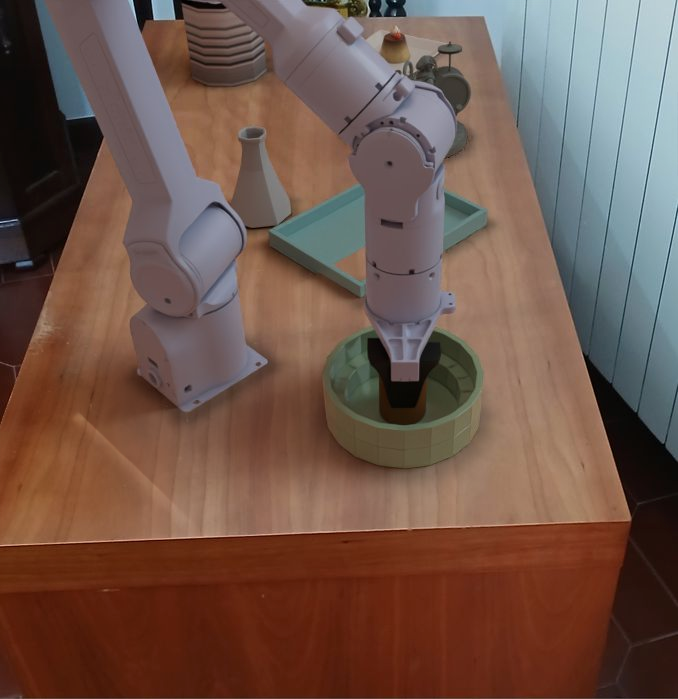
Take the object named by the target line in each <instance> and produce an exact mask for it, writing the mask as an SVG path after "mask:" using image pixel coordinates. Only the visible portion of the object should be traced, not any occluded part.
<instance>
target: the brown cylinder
mask: <svg viewBox="0 0 678 699" xmlns="http://www.w3.org/2000/svg"><path fill="white" fill-rule="evenodd" d="M426 392H427V378H426V380H425V382H424V385H423V388H422V391H421V395H420V398H419V401H418V403H417V405H416V407H415V408H392V407H391V406H390V404H389V401H388V399H387V395H386V392H385V388H384V384H383V381H382V379H381V377H380V375H379V412H380V415H381V417H382V418H383V419H384V420H385V421H386V422H388V423H390V424H396V425H412V424H416V423H418V422H419V421H420V420H422V419H423V417H424V416H425V413H426Z"/></svg>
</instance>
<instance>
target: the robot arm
mask: <svg viewBox="0 0 678 699" xmlns="http://www.w3.org/2000/svg"><path fill="white" fill-rule="evenodd" d="M218 1H220V2H221V3H222V4H223V5H224V6H225V7H227V8H228V9H229V10H230V11H231V12H232V13H234V14H235V15H236V16H237V17H238V18H239V19H241V20H242V21H243V22H244V23H245V24H246V25H247V26H249V27H250V28H251V29H252V30H253V31H254V32H256V33H257V34H258V35H259V36H260V37H261V38H263V39H264V42H266V43H268V45H269V46H270V48H271V54H272V62H273V72H274V75H275V77H277V78H278V80H280V81H281V82H282V83H283V85H285V86H286V87H287V88H288V89H289V90H290V91H291V92H292V93H293V94H294V95H295V96H296V97H298V99H299V100H300V101H301V102H302V103H303V104H304V105H305V106H306V107H307V108H308V109H310V111H312V113H314V115H316V117H318V118H319V119H320V120H321V121H322V122H323V123H324V124H325V125H326V127H328V128H329V129H330V130H331V131H332V133H334V134H335V135H337V137H338V138H339V139H340V140H341V141H342V142H343V143H344V144H345V145H347V147H349V148H350V149H351V150H352V152H351V153H349V154H348V155H347V158H348V164H349V167H350V170H351V173H352V175H353V176H354V179H355V180H356V182H358V183H360V185H361V186H362V187H363V189H364V191H365V200H364V212H365V247H364V250H365V279H366V294H365V296H363V297H364V298H363V308H364V313H365V316H366V317H367V319H368V321H369V323H370V325H371V326H373V328H374V330H375V331H376V333H377V335H378V337H379V338H367V356H368V360H369V362H370V365H371V366H372V367H374V368H375V370H376V371H377V372H378V374H379V375H380V377H381V379H382V381H383V384H384V388H385V392H386V395H387V399H388V401H389V404H390V406H391V407H392V408H415V407H416V405H417V403H418V401H419V398H420V395H421V391H422V388H423V385H424V382H425V380H426V378H427V376H428V375H429V373H430V372H431V371H432V370H433V368H435V367H436V366H437V365H438V363H439V360H440V358H441V345H440V342H427V341H428V339H429V337H430V335H431V334H432V332H433V330H434V328H435V327H437V326H436V325H437V324H438V322H439V319H441V318H440V317H441V316H442V315H451V314H454V313H455V312H456V310H457V309H456V308H457V301H456V300H457V299H456V294H455V293H454V292H453V291H449V290H446V291H445V290H442V278H443V277H442V276H443V253H444V251H443V234H444V210H445V198H444V189H445V179H446V178H445V176H446V164H444V163H443V161H444V160H445V156H446V155H447V153H448V151H449V150H450V148H451V146H452V144H453V142H454V139H455V136H456V132H457V121H458V119H457V117H456V115H455V112H454V110H453V108H452V106H451V104H450V103H449V101H448V100H447V99H446V98H445V96H444V94H443V92H442V91H441V90H440V89H439V88H437V87H435V86H433V85H431V84H428V83H425V82H421V81H413V80H410V79H409V78H408V77H409V76H404V75H403V74H402V73H401V74H399V73H398V72H395V71H396V70H395V69H394V68H393V67H392V66H391V65H390V64H389V63H388V62H387V61H386V60H385V59H384V58H383V57H382V56H381V55H380V54H379V53H378V52H377V51H376V50H375V49H374V48H373V47H372V46H371V45H370V44H369V43H368V42H367V41H366V40H365V39H366V38H365V37H363V36H362V35H363V33H365V28H364V27H363V26H362V25H361V24H360V23H359V22H358V21H357V20H356V19H355V18H354V16H348V18H347V19H345V18H344V16H342V15H341V13H339V11H338V10H337V9H336V8H333V7H320V6H310V5H307V4H305V2H304V1H303V0H218ZM43 2H44V5H45V7H46V9H47V11H48V14H49V16H50V18H51V20H52V23H53V25H54V27H55V29H56V31H57V34H58V37H59V38H60V41H61V43H62V46H63V47H64V49H65V53H66V54H67V57H68V58H69V61H70V63H71V65H72V68H73V71H74V72H75V74H76V77H77V79H78V82H79V84H80V86H81V89H82V91H83V93H84V95H85V97H86V100H87V102H88V104H89V106H90V109H91V110H92V113H93V115H94V118H95V121H96V122H97V124H98V127H99V129H100V132H101V134H102V136H103V138H104V140H105V143H106V145H107V147H108V150H109V152H110V154H111V156H112V158H113V160H114V163H115V165H116V167H117V170H118V172H119V174H120V176H121V179H122V182H123V183H124V185H125V188H126V190H127V192H128V195H129V197H130V199H131V206H130V211H129V216H128V218H127V221H126V222H127V223H126V227H125V230H124V234H123V239H122V243H123V246H124V248H125V251H126V253H127V256H128V259H129V276H130V280H131V284H132V286H133V288H134V290H135V291H136V293H137V294H138V295H139V297H140V298H141V300H143V302H144V303H146V304H145V305H144V306H143V307H142V308H141V309H140V310H138V311H137V312H136V313H135V314H133V315H132V316H131V317H130V319H129V331H130V336H131V339H132V343H133V347H134V352H135V356H136V360H137V364H138V368H137V369H136V374H137V376H138V377H142V378H143V379H144V380H145V381H146V382H148V384H150V385H151V387H154V388H155V389H156V390H157V391H158V392H159V393H161V395H162V396H164V397H165V398H166V399H167V400H168V401H169V402H171V403H172V404H173V405H174V406H176V407H177V408H178V409H179V410H180V411H182V413H189V412H191V411H194V410H195V409H196V408H198V407H199V406H202V405H203V404H204V403H207V402H208V401H209V400H211V399H213V398H215V397H216V396H218V395H219V394H221V393H222V392H224V391H225V390H227V389H229V388H230V387H232V386H234V385H235V384H237V383H239V382H240V381H242V380H244V379H245V378H246V377H248V376H249V375H251V374H252V373H255V372H256V371H258V370H259V369H261V368H263V367H264V366H266V365H267V364H268V362H269V361H268V359H267V358H265V357H264V356H263V355H261V354H260V353H259V352H258V351H256V350H255V349H253V348H252V347H251V346H249V345H248V344H247V341H246V333H245V327H244V319H243V310H242V305H241V298H240V297H241V296H240V290H239V283H238V276H237V272H238V271H239V270H238V263H237V258H238V257H239V256H240V255H241V254H242V253H243V251H244V250H245V248H246V245H247V242H248V233H247V228H246V226H244V224H243V222H242V220H241V218H240V217H239V216H238V214H237V213H236V212H235V211H234V210H233V209H232V208H231V207H230V206H231V204H229V203H228V200H227V199H226V198H225V196H224V194H223V191H222V187H221V185H220V184H219V183H218V182H216V181H212V180H209V179H205V178H202V177H199V176H197V174H196V170H195V168H194V166H193V163H192V161H191V158H190V156H189V153H188V150H187V147H186V144H185V142H184V140H183V138H182V134H181V132H180V130H179V127H178V125H177V122H176V120H175V116H174V115H173V112H172V110H171V107H170V104H169V102H168V99H167V97H166V94H165V91H164V89H163V86H162V83H161V81H160V78H159V76H158V74H157V71H156V68H155V65H154V63H153V60H152V58H151V55H150V53H149V50H148V48H147V45H146V43H145V40H144V37H143V34H142V32H141V30H140V26H139V24H138V22H137V20H136V17H135V14H134V11H133V8H132V6H131V4H130V2H129V0H43ZM256 364H259V365H256ZM196 401H198V403H194V402H196Z"/></svg>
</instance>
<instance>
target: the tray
mask: <svg viewBox="0 0 678 699" xmlns="http://www.w3.org/2000/svg"><path fill="white" fill-rule="evenodd" d="M444 198H445V210H444V234H443V252H446V251H447V250H448V249H450V248H451V247H453V246H455V245H457V244H458V243H459V242H461V241H463V240H464V239H466V238H467V237H469V236H471V235H473V234H474V233H476V232H477V231H479V230H480V229H482V228H484V227H486V226H487V224H488V212H489V211H488V208H485V207H483V206H481V205H480V204H478V203H475V202H473V201H471V200H469V199H467V198H465V197H463V196H461V195H459V194H457V193H454V192H452V191H450V190H448V189H446V188H444ZM364 200H365V191H364V189H363V187H362V186H361V185H360V183H359V182H358V183H355V184H354V185H352V186H349V187H348V188H346V189H345V190H343V191H340V192H338V193H336V195H333V196H331V197H329V198H328V199H326V200H323V201H321V202H319V203H318V204H316V205H314V206H312V207H310V208H308V209H306V210H304V211H303V212H301V213H298V214H297V215H295V216H293V217H291V218H289V219H287V220H286V221H282V222H281V223H280V224H279V225H275V226H274V227H272V228H270V229H269V230H267V233H268V241H269V247H271V248H272V249H274V250H276V251H277V252H279V253H281V254H282V255H284V256H285V257H287V258H289V259H290V260H292V261H294V262H295V263H297V264H298V265H300V266H302V267H303V268H305V269H306V270H308V271H310V272H311V273H313V274H314V275H318V274H321V275H322V276H324V277H326V278H327V279H329V280H330V281H333V283H335V284H337V285H338V286H340V287H342V288H343V289H345V290H347V291H348V292H350V293H352V294H353V295H355V296H356V297H358V298H360V299H362V298H363V297H365V294H366V278H364V279H362V280H358V279H357V278H355V277H354V276H352V275H350V274H348V273H347V272H346V271H343V270H342V269H340V267H339V268H338V267H337V266H335V264H337V263H339V262H341V261H342V260H344V259H346V258H348V257H350V256H351V255H353V254H355V253H356V252H358V251H360V250H362V249H363V248H365V212H364Z"/></svg>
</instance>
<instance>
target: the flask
mask: <svg viewBox="0 0 678 699" xmlns="http://www.w3.org/2000/svg"><path fill="white" fill-rule="evenodd" d="M267 135H268V134H267V129H266V127H264V126H259V125H248V126H243V127H242V128H240V129H239V130H238V131H237V140H238V142H239V143H240V144H241V157H240V158H241V159H240V166H239V170H238V176H237V180H236V184H235V187H234V190H233V194H232V198H231V203H230V207H231V208H232V209H233V210H234V211H235V212H236V213H237V214H238V216H239V217H240V218H241V220H242V222H243V224H244V226H245V227H248V228H252V229H254V228H264V227H273V226H274V227H276V226H278V225H280V224H282V223H283V222H284V220H285V219H286V218H287V217H288V216H290V215H291V214H292V206H291V200H290V196H289V195H288V193H287V191H286V189H285V187H284V185H283V184H282V182H281V180H280V179H279V177H278V175H277V173H276V170H275V168H274V166H273V165H272V162H271V161H270V158H269V155H268V151H267V148H266V142H265V141H266V139H267V137H268V136H267Z"/></svg>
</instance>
